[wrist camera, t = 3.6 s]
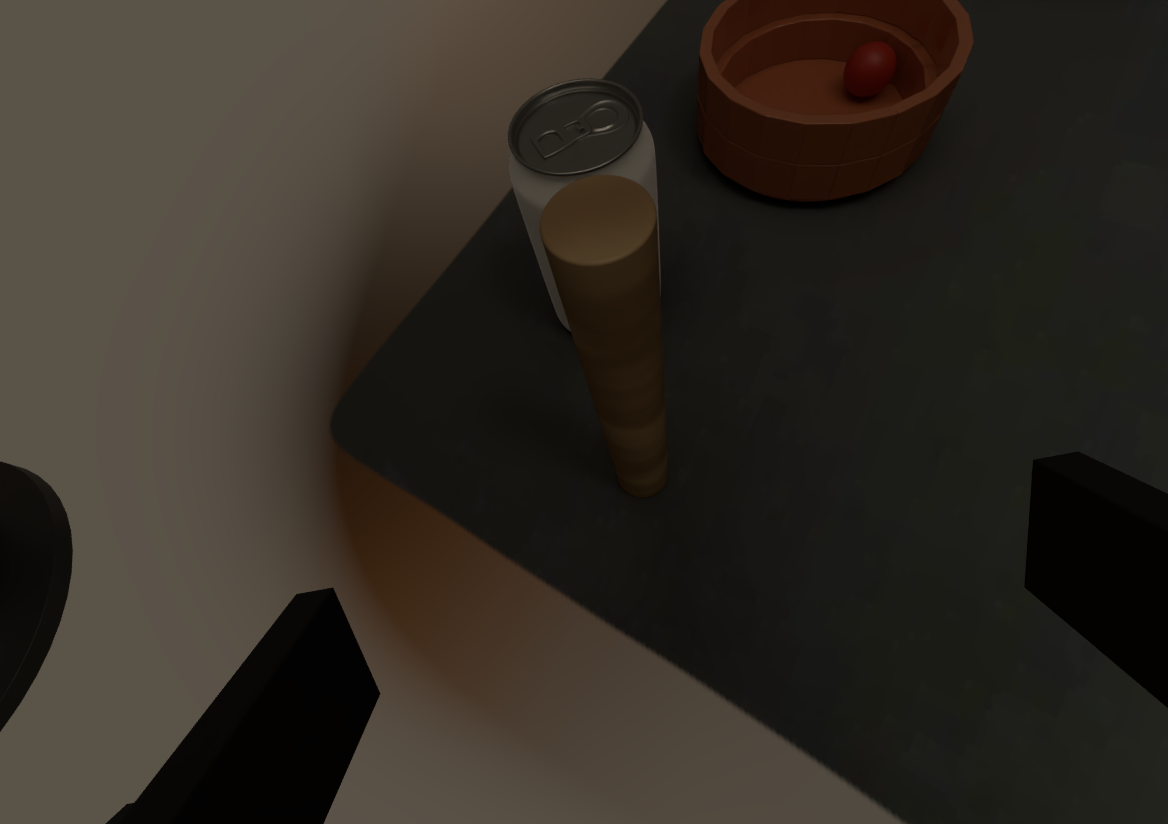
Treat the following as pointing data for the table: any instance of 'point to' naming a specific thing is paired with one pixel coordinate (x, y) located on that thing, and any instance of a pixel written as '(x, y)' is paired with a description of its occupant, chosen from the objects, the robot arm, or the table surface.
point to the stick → (614, 315)
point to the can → (576, 151)
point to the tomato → (870, 69)
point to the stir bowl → (823, 91)
